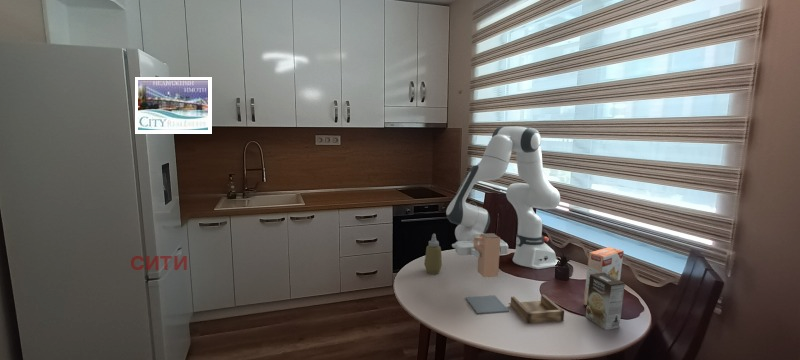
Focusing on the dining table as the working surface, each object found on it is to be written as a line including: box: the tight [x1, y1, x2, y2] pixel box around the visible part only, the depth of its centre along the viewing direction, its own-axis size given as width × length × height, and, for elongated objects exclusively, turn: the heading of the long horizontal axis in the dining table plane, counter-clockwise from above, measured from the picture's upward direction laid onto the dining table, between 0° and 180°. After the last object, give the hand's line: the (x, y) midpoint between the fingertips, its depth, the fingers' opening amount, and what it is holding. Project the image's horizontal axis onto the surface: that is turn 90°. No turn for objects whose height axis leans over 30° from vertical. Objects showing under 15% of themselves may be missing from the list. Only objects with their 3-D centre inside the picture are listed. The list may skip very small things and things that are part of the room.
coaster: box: [465, 294, 510, 315], centre depth 136 cm, size 12×12×1 cm
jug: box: [473, 232, 501, 278], centre depth 134 cm, size 9×6×15 cm, turn 100°
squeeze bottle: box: [424, 233, 443, 275], centre depth 165 cm, size 8×8×18 cm
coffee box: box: [585, 272, 626, 331], centre depth 124 cm, size 9×6×16 cm
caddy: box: [508, 294, 565, 324], centre depth 132 cm, size 13×14×4 cm
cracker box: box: [583, 246, 624, 306], centre depth 137 cm, size 14×6×21 cm, turn 122°
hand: (489, 254), depth 134 cm, fingers closed on jug, 6 cm apart
